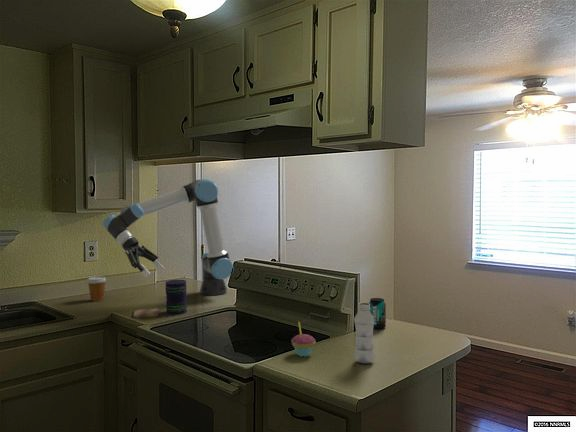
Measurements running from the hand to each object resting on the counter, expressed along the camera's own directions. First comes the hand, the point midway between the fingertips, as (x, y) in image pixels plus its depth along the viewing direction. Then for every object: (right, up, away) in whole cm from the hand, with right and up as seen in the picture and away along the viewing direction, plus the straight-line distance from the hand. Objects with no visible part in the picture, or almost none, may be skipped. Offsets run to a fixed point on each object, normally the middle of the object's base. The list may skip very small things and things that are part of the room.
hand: (155, 273), depth 241 cm
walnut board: (-3, -19, -5) cm, 20 cm away
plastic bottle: (+90, -22, -73) cm, 118 cm away
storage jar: (+11, -19, -2) cm, 22 cm away
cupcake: (+70, -22, -64) cm, 97 cm away
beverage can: (+102, -20, -31) cm, 108 cm away
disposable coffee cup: (-38, -18, +27) cm, 50 cm away
